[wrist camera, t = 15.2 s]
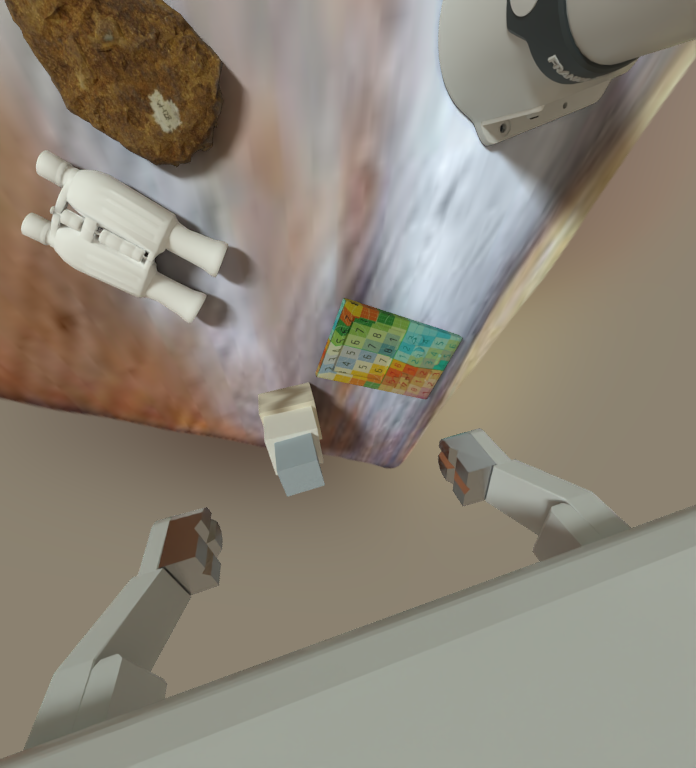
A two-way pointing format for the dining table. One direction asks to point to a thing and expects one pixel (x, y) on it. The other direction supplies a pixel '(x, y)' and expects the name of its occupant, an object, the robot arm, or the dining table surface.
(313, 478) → the grey cube
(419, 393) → the puzzle game
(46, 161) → the binoculars
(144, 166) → the dining table surface
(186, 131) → the decorative rock
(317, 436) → the white block
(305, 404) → the birch slab
